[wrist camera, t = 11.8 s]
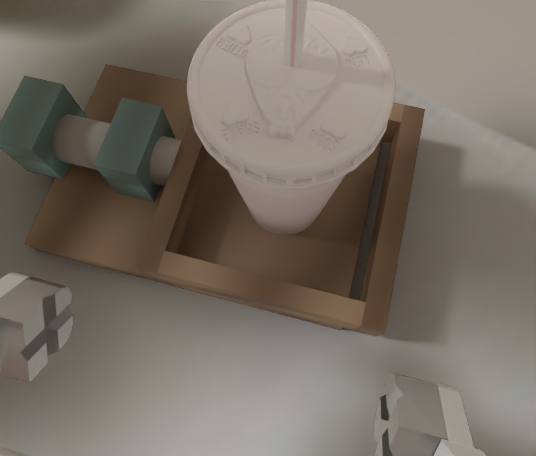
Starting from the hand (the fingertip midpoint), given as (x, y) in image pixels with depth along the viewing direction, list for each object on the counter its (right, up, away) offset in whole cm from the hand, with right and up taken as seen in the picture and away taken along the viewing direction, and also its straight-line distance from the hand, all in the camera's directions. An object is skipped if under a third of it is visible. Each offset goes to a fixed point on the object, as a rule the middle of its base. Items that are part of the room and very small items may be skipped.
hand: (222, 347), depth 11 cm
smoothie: (+2, +4, +12) cm, 13 cm away
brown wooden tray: (-2, +5, +13) cm, 14 cm away
